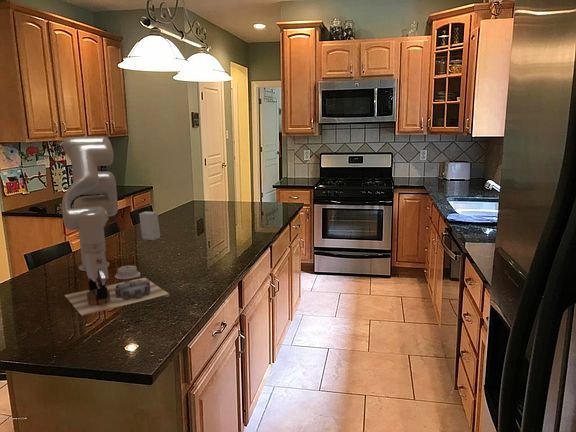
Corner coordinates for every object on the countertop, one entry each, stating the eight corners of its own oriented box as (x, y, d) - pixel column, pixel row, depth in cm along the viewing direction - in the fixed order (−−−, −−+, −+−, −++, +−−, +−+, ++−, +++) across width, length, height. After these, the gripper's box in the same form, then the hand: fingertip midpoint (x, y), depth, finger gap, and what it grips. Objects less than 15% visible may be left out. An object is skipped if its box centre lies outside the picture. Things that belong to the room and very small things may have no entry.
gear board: (64, 297, 169) (62, 283, 168) (145, 279, 187) (143, 266, 185) (82, 318, 150) (80, 302, 149) (169, 296, 168) (168, 282, 167)
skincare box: (160, 238, 255) (158, 211, 252) (153, 240, 249) (151, 213, 247) (148, 236, 258) (146, 210, 255) (140, 239, 253) (138, 212, 250)
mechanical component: (145, 277, 191) (131, 272, 197) (144, 266, 190) (130, 262, 196) (123, 283, 183) (110, 278, 189) (122, 273, 182) (109, 268, 188)
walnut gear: (106, 296, 166) (105, 287, 166) (112, 301, 161) (111, 292, 160) (85, 301, 162) (84, 291, 162) (91, 307, 157) (90, 297, 156)
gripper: (112, 250, 153) (117, 299, 157) (97, 240, 167) (102, 285, 170) (89, 254, 149) (94, 304, 152) (75, 244, 162) (80, 290, 166)
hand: (98, 294), depth 161 cm, fingers open, 9 cm apart
